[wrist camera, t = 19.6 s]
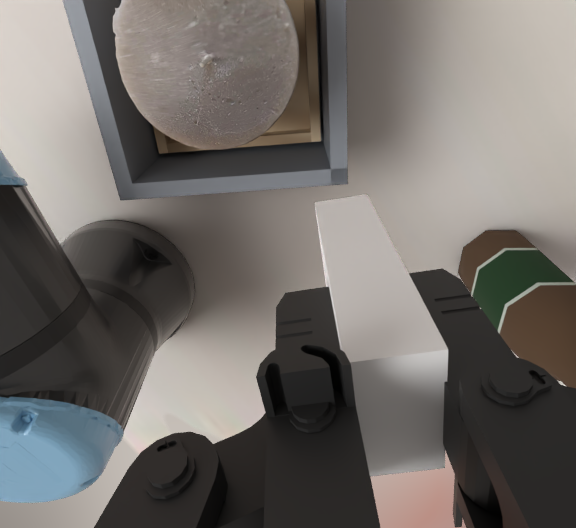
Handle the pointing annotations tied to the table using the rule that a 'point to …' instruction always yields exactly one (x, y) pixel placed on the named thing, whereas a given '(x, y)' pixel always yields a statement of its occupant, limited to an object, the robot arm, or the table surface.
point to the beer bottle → (524, 300)
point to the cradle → (210, 163)
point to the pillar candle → (208, 66)
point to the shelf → (305, 99)
